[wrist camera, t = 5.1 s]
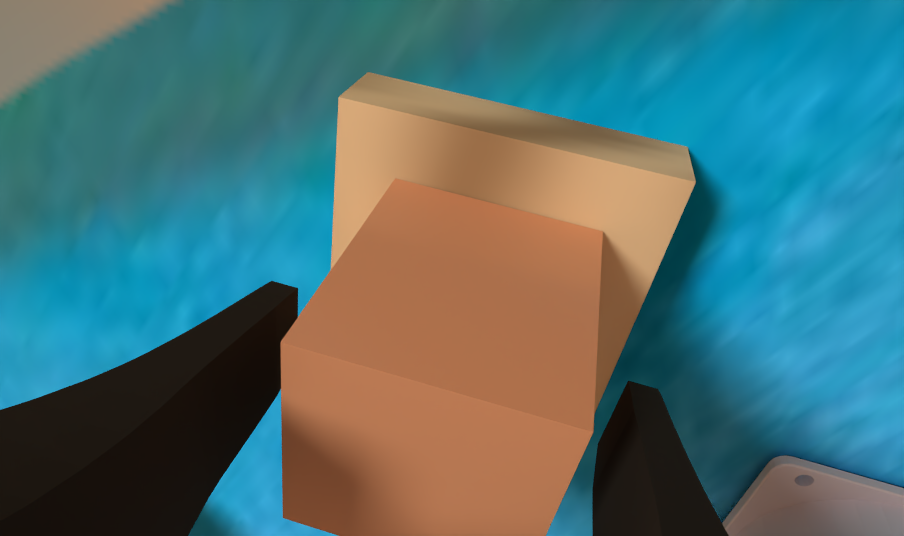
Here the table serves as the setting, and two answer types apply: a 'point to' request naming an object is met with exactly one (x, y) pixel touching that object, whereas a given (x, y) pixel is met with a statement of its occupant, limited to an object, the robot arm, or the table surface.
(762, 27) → the table surface
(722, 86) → the table surface
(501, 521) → the terracotta block
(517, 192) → the maple slab
